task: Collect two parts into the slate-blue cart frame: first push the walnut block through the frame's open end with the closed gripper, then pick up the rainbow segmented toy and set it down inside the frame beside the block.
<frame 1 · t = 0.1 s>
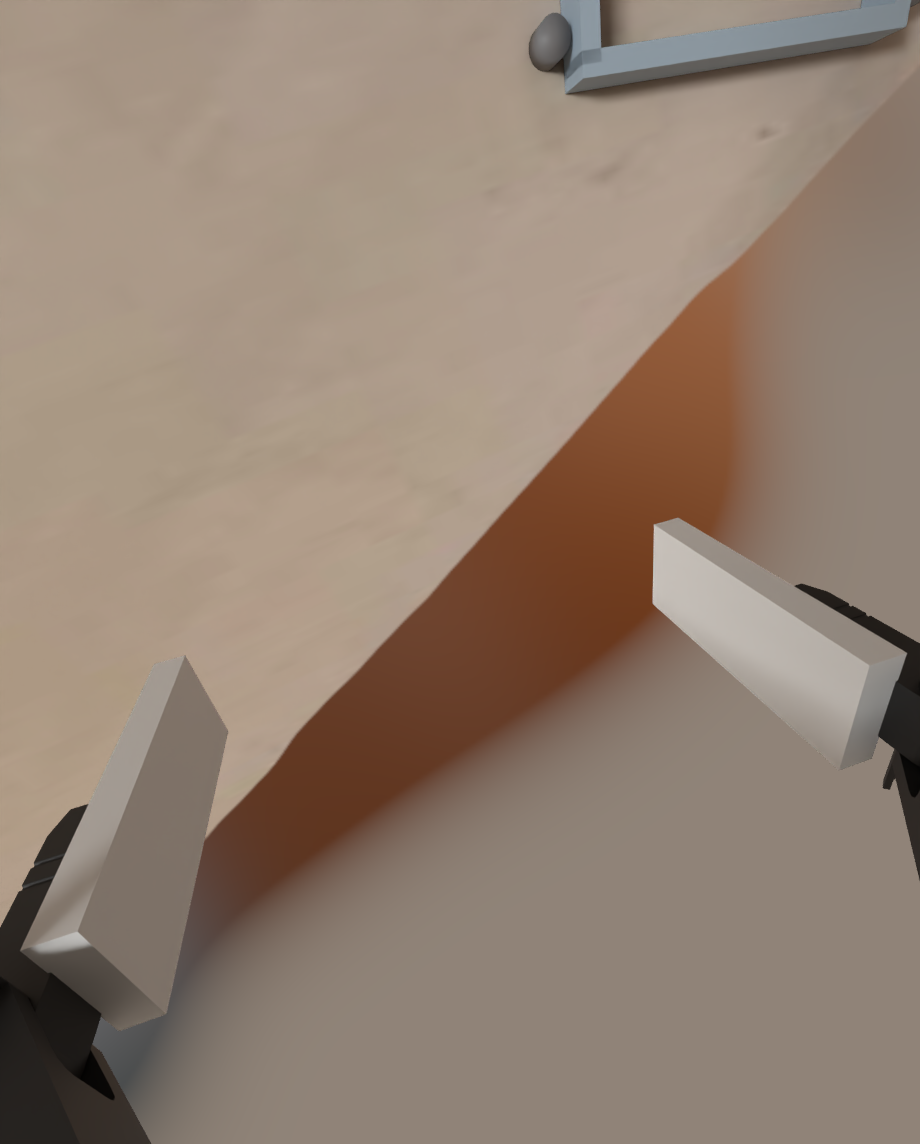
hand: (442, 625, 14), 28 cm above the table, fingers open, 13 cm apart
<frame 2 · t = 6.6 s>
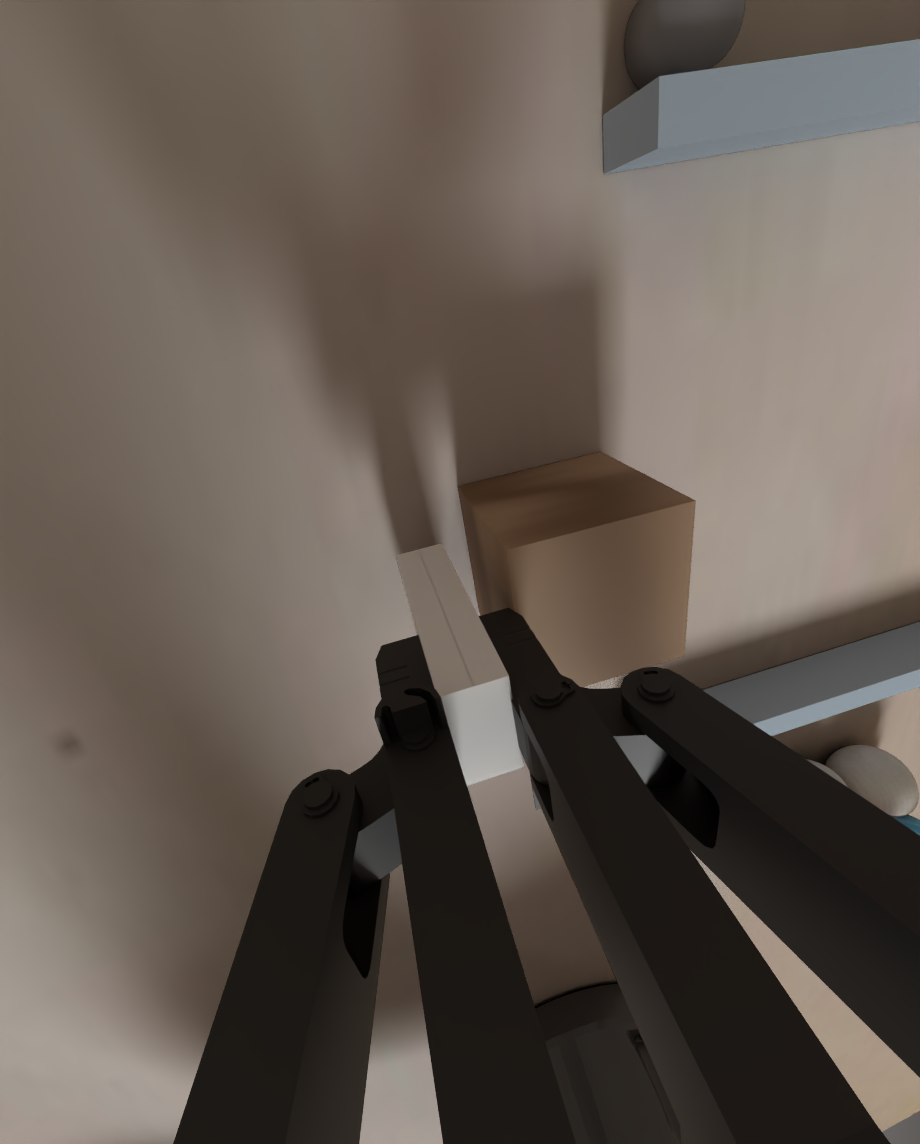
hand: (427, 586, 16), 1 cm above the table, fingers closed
walnut block: (537, 536, 18), on the table, touching gripper
rainbow segmented toy: (791, 788, 30), on the table
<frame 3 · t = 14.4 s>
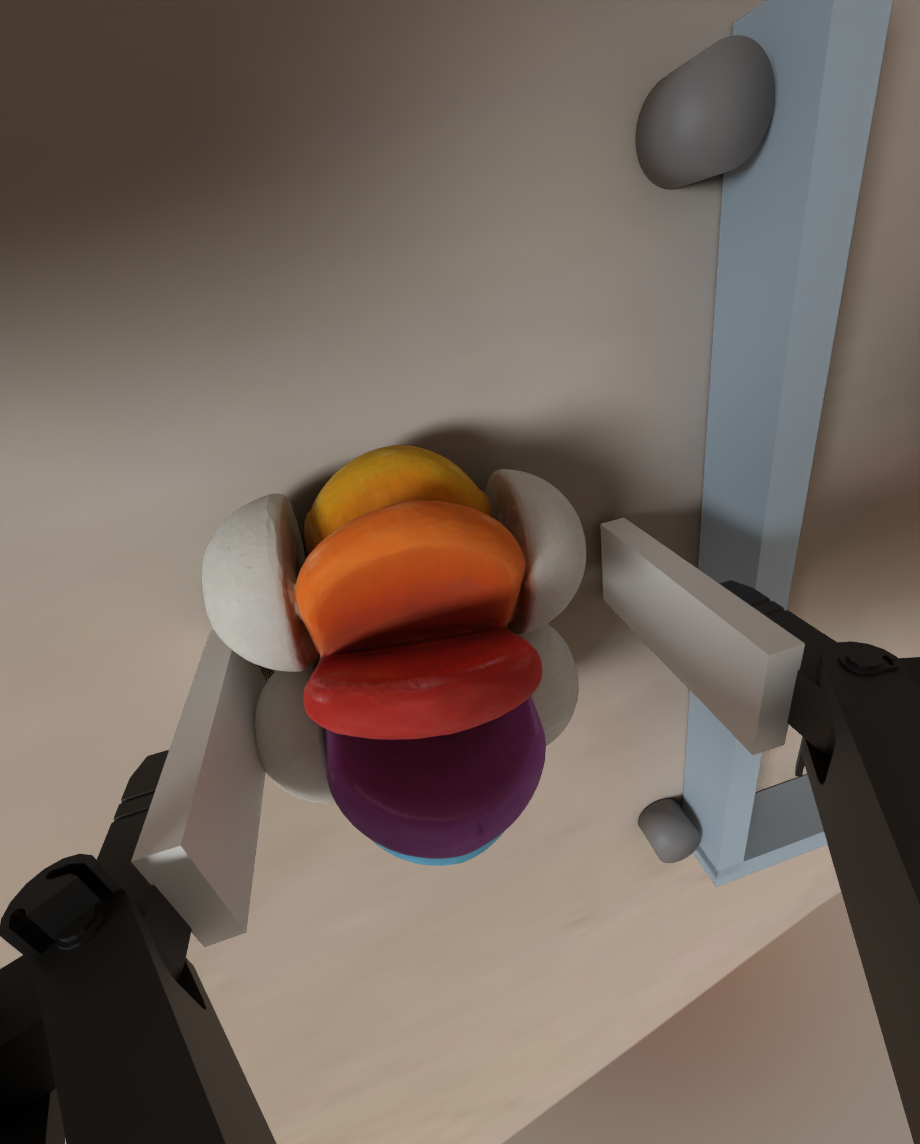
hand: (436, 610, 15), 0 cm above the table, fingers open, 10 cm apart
rainbow segmented toy: (401, 596, 15), on the table, touching gripper
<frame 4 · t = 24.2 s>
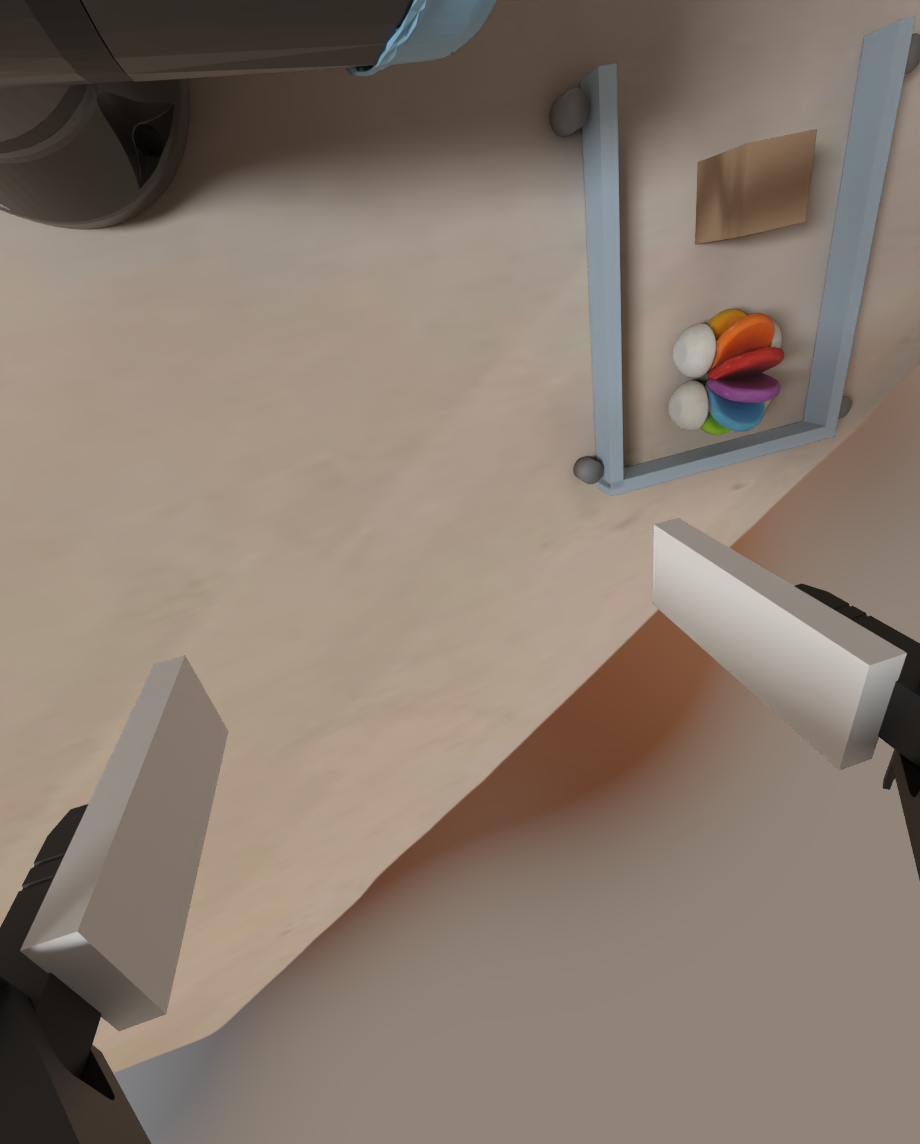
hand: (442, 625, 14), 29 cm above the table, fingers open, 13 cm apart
cart frame: (719, 287, 41), on the table
walnut block: (725, 198, 38), on the table
rainbow segmented toy: (705, 371, 44), resting in cart frame
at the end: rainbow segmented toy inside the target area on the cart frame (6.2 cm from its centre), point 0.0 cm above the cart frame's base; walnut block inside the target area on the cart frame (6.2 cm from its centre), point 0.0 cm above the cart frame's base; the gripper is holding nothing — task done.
